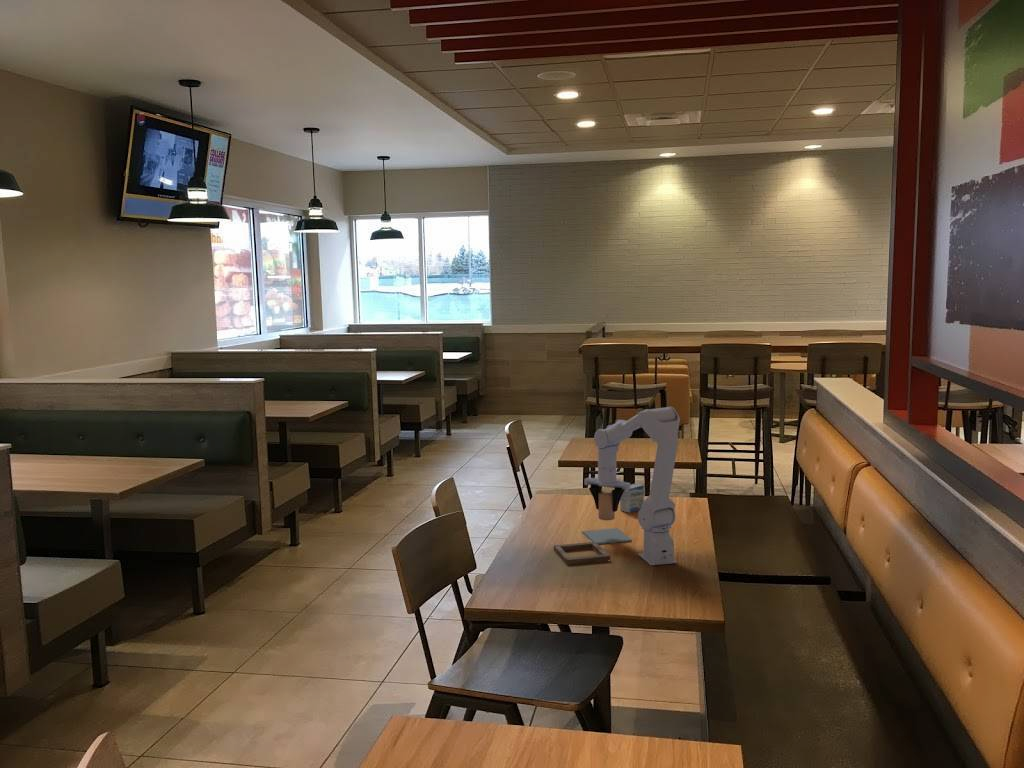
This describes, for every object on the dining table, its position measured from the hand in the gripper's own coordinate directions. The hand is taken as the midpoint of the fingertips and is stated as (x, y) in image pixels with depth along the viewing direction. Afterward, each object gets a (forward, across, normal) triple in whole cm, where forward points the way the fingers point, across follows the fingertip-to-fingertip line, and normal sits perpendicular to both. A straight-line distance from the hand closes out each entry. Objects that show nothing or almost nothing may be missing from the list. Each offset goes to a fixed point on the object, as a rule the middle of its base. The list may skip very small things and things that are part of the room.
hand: (606, 509), depth 254 cm
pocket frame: (+9, 0, -19) cm, 21 cm away
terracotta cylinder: (+3, 0, 0) cm, 3 cm away
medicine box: (+9, -4, +32) cm, 33 cm away
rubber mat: (+9, 0, 0) cm, 9 cm away
